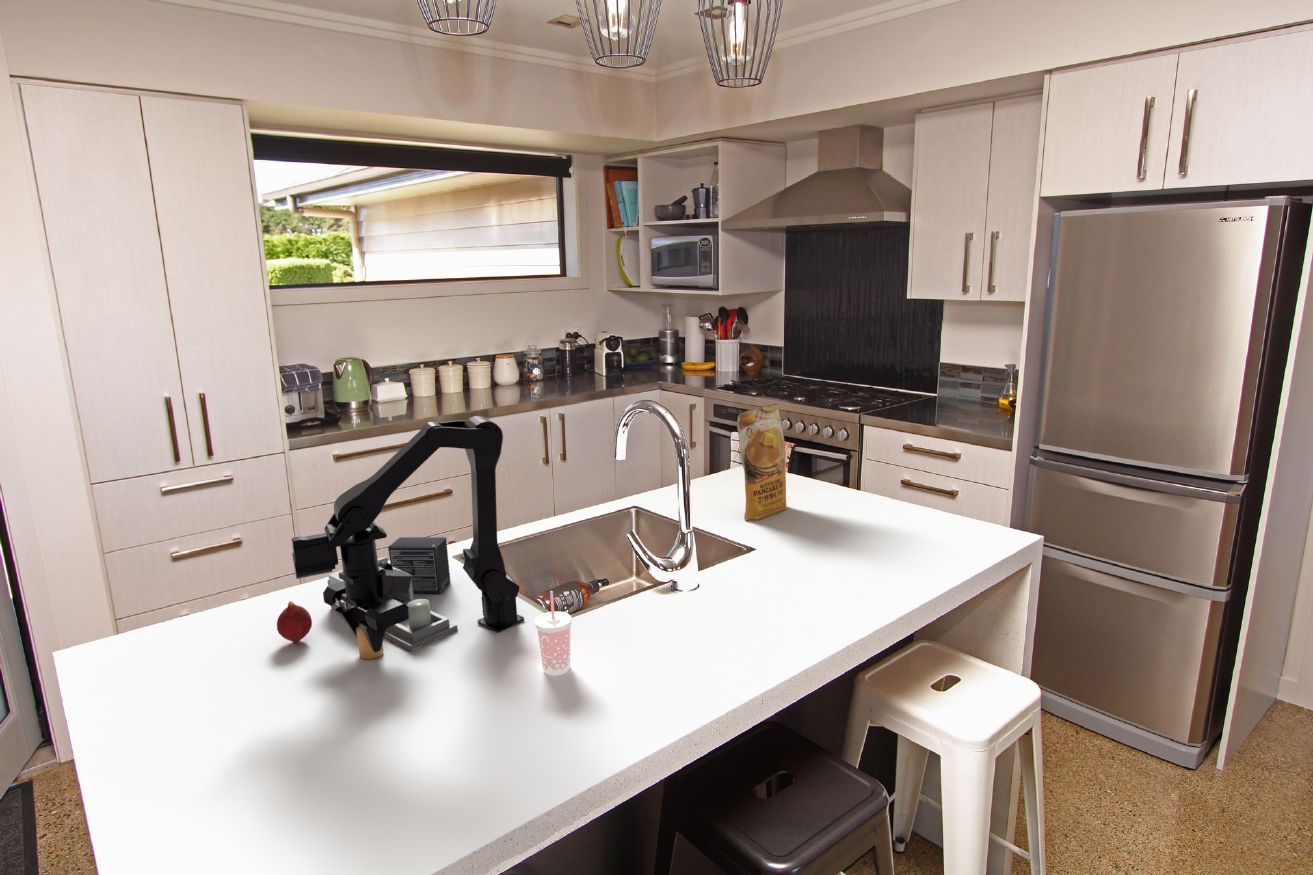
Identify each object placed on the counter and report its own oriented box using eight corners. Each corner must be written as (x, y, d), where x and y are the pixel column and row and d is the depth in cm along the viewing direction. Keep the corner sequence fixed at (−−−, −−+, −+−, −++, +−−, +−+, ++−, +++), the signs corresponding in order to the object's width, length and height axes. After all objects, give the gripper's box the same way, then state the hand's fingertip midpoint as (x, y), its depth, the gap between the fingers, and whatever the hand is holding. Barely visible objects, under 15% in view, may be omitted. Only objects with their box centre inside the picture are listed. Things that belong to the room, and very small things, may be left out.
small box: (452, 581, 170) (447, 535, 167) (441, 594, 163) (436, 547, 161) (404, 581, 171) (399, 535, 168) (392, 594, 164) (386, 546, 162)
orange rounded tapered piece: (387, 651, 140) (384, 626, 139) (367, 661, 137) (363, 634, 136) (375, 645, 142) (372, 619, 141) (355, 654, 139) (351, 628, 138)
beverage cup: (534, 663, 135) (528, 588, 132) (568, 655, 137) (563, 581, 134) (543, 681, 129) (538, 602, 126) (579, 672, 132) (574, 595, 128)
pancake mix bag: (728, 518, 203) (728, 412, 197) (776, 501, 216) (777, 400, 209) (748, 524, 198) (748, 415, 192) (796, 507, 211) (797, 404, 204)
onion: (321, 636, 147) (315, 596, 145) (298, 651, 142) (292, 610, 140) (296, 632, 149) (290, 593, 147) (272, 647, 143) (266, 606, 142)
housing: (457, 629, 148) (454, 600, 146) (410, 650, 140) (407, 620, 139) (376, 591, 166) (373, 564, 164) (331, 608, 159) (327, 580, 157)
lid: (414, 603, 157) (409, 563, 155) (367, 621, 149) (362, 580, 147) (377, 586, 165) (372, 548, 163) (332, 602, 158) (326, 563, 156)
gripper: (432, 562, 136) (440, 645, 139) (374, 539, 148) (383, 616, 151) (373, 584, 127) (383, 671, 131) (316, 558, 139) (327, 638, 143)
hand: (370, 647), depth 139 cm, fingers closed on orange rounded tapered piece, 4 cm apart
